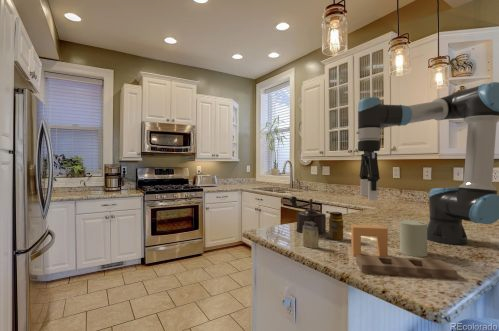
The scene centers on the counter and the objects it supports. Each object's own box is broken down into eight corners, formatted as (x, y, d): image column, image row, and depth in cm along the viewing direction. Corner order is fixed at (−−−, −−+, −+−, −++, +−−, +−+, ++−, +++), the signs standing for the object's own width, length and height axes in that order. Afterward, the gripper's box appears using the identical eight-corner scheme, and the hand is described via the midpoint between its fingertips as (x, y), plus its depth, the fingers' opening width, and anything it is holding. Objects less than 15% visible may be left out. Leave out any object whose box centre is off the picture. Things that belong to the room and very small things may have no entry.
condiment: (347, 239, 120) (347, 212, 120) (334, 242, 116) (334, 214, 116) (334, 236, 126) (334, 210, 126) (321, 239, 122) (321, 212, 122)
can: (428, 258, 96) (428, 224, 96) (398, 254, 101) (398, 222, 101) (427, 251, 104) (427, 220, 104) (399, 247, 108) (399, 217, 108)
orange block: (384, 254, 100) (384, 226, 100) (387, 258, 96) (387, 228, 96) (351, 252, 103) (351, 224, 103) (353, 256, 99) (353, 227, 99)
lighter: (320, 247, 109) (320, 222, 109) (314, 249, 107) (314, 224, 107) (305, 243, 114) (305, 220, 114) (300, 245, 112) (300, 221, 112)
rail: (441, 267, 87) (441, 259, 87) (456, 279, 78) (456, 270, 78) (356, 262, 92) (356, 254, 92) (361, 272, 84) (361, 264, 84)
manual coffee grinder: (310, 228, 142) (310, 194, 142) (326, 232, 133) (326, 196, 133) (287, 232, 134) (287, 196, 134) (303, 237, 124) (302, 198, 124)
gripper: (352, 143, 113) (351, 194, 113) (365, 136, 88) (364, 201, 88) (371, 143, 111) (371, 194, 111) (390, 136, 87) (389, 202, 87)
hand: (368, 198), depth 100 cm, fingers open, 13 cm apart
